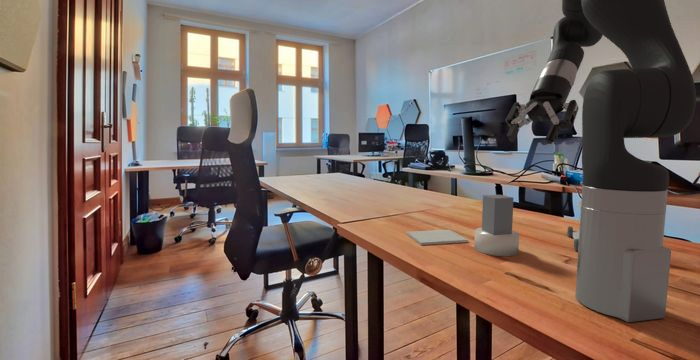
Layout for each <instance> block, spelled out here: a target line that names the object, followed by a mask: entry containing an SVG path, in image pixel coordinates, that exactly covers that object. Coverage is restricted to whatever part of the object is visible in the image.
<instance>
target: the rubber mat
mask: <svg viewBox="0 0 700 360" xmlns="http://www.w3.org/2000/svg"><path fill="white" fill-rule="evenodd" d="M405 234H406V236H408V237H410V238H411V239H412V240H413V241H415V242H416V243H417V244H418V245H420V246H429V245H443V244H444V245H445V244H458V243H459V244H460V243H469V239H467V238H466V237H464V236H462V235H460V234H458V233H456V232H455V231H452V230H450V229H449V228H448V229H434V230H432V229H431V230H417V231H415V230H414V231H412V230H411V231H406V233H405Z"/></svg>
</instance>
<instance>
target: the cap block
mask: <svg viewBox="0 0 700 360" xmlns="http://www.w3.org/2000/svg"><path fill="white" fill-rule="evenodd" d="M513 215H514V197H513V196H507V195H503V194H485V195H482V216H481V228H482V230H483V231H485V232H487V233H490V234H492V235H505V234H512V230H513V221H514V220H513V218H514V217H513Z"/></svg>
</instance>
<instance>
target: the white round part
mask: <svg viewBox="0 0 700 360" xmlns="http://www.w3.org/2000/svg"><path fill="white" fill-rule="evenodd" d="M473 246H474V247H473V248H474V250H475V251H477V252H479V253H481V254H484V255H488V256H495V257H513V256H517V255H519V248H520V247H519V246H520V233H519V232H517V231H516V230H513V229H512V234H505V235H492V234H490V233H487V232H485V231H483V230H482V227H478V228H475V229H474V245H473Z"/></svg>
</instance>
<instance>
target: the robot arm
mask: <svg viewBox="0 0 700 360" xmlns="http://www.w3.org/2000/svg"><path fill="white" fill-rule="evenodd" d="M561 1H562V2H561V3H562V4H561V10H562V14H563V16H564V17H562V18H560V19H559V20H558V21H557V22H556V23H555V25H554V29H553V32H552V33H553V35H552V49H551V52H550V54H549V56H548V59H547V60H546V63H545V66H544V67H543V69H542V70H541V72H540V74H539V76H538V78H537V80H536V81H535V85H534V87H533V89H532V91H531V93H530V96H529V101H527V102H525V104H523V103H522V104H521V103H520V102H518V101H515V102H514V103H513V105H512V106H511V109H510V110H509V113H507V116H506V118H505V123H506V124H507V126H508V127H509V130H508V131H507V133H506V136H507V139H508V140H509V141H510V142H511V143H512V142H513V143H514V142H515V140H516V138H517V136H518V134H519V131H520V129H521V128H522V127H524V126H528V125H529V124H530V123H532V122H534V123H535V122H542V123H544V122H548V121H551V122H552V124H551V125H550V127H549V129H548V131H547V134H546V136H545V142H546V144H548V145H552V144H553V143H554V142H556V140H557V139H558V136H559V135H560V133H561V131H562V130H563V129H572V128H573V127H574V123H575V120H576V119H577V114H578V112H579V109H580V108H579V105H578V102H577V101H576V99H571V100H569V102H567V101H568V100H567V99H568V97H569V95H570V93H571V90H572V89H573V86H574V85H575V81H576V78H577V74H578V72H579V69H580V67H581V65H582V62H583V59H584V56H585V50H584V49H583V47H585V48H589V47H594V45H596V44H598V42H599V41H601V39H602V38H603V36H604V37H605V38H606V39H608V41H610V42H611V43H613V44H614V46H616V47H617V48H618V49H619V50H620V51H622V53H623V54H624V55H625V57H626V58H627V60H628V61H629V64H630V66H631V68H623V69H622V68H621V69H608V70H607V69H606V70H603V71H600V72H598V73H596V74H594V76H592V78H591V79H590V80H589V82H588V84H587V86H586V87H585V91H584V95H583V98H582V99H583V101H582V108H581V109H582V110H581V111H582V113H581V115H582V116H581V126H582V127H581V130H582V131H581V132H582V133H581V134H582V136H581V137H582V138H581V139H582V140H581V141H582V144H581V147H582V148H581V169H582V185H581V188H582V189H581V201H580V202H581V209H580V217H579V230H578V231H579V245H578V252H577V261H576V262H577V263H576V265H577V266H576V279H575V295H574V296H575V299H576V300H577V301H578V302H579V303H580V304H582V305H583V306H584V307H587V308H589V309H591V310H593V311H595V312H598V313H601V314H604V315H607V316H610V317H614V318H618V319H620V320H622V321H624V322H626V323H633V322H640V321H647V320H648V321H649V320H656V319H665V318H666V311H667V309H666V308H667V300H668V292H669V291H668V289H669V282H670V281H669V279H670V272H671V271H670V268H671V259H672V249H671V248H669V247H667V246H664V239H665V238H664V237H665V226H666V225H665V224H666V213H667V204H668V194H669V193H668V192H669V185H670V184H669V182H670V173H669V170H668V169H667V168H666V167H664V166H662V165H658V164H655V163H652V162H649V161H645V160H642V159H641V158H638V157H637V156H635V155H633V154H632V153H631V152H630V151H628V150H627V148H626V145H625V139H644V138H645V139H650V138H652V139H653V138H655V139H656V138H667V137H672V136H673V137H674V136H676V135H678V134H681V133H682V132H683V131H684V130H685V129H687V127H688V126H689V125H690V123H691V122H692V120H693V119H694V118H693V117H694V115H695V111H696V107H697V92H696V91H697V89H696V85H695V81H694V77H693V74H692V71H691V69H690V66H689V63H688V61H687V59H686V57H685V54H684V52H683V50H682V48H681V45H680V43H679V41H678V37H677V35H676V34H675V31H674V29H673V26H672V23H671V21H670V17H669V13H668V10H667V9H668V8H667V5H666V3H665V0H561ZM564 110H565V113H564V117H563V119H559V117H558V116H557V115H559V114H560V113H561V112H563V111H564ZM526 116H527V118H526Z"/></svg>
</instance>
